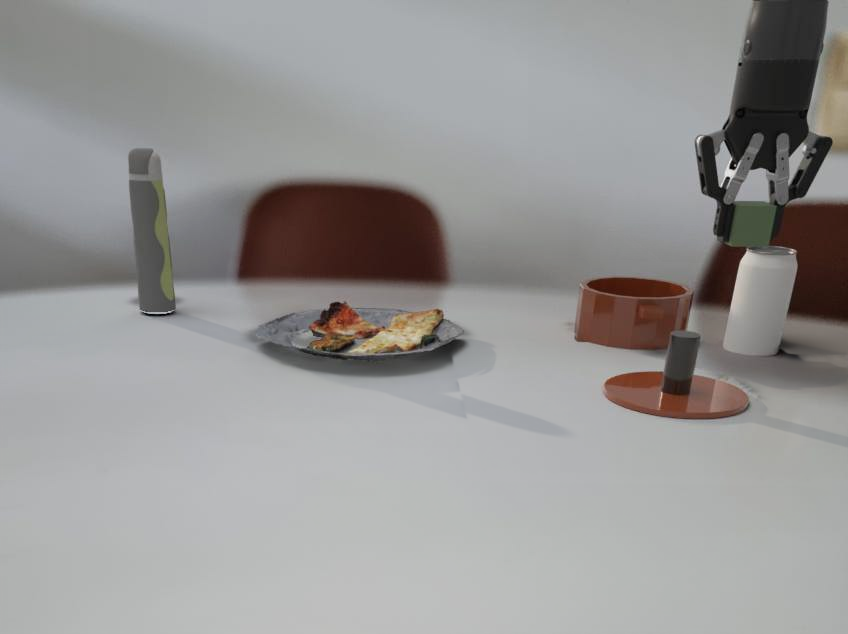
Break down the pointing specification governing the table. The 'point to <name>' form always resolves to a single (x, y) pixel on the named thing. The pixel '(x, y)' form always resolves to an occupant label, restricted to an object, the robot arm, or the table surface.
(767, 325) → the can
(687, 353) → the cover
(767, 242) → the block
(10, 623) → the table surface
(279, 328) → the food plate
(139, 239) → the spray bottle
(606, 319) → the dish
